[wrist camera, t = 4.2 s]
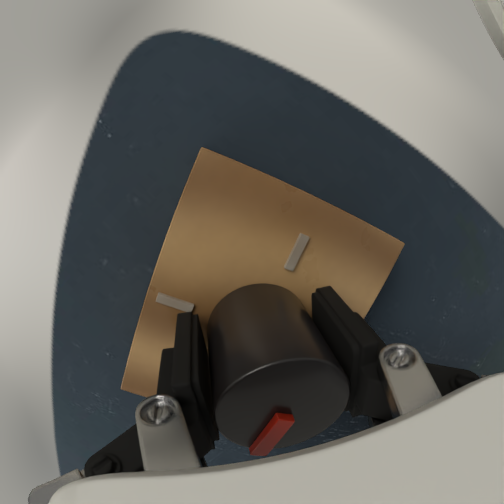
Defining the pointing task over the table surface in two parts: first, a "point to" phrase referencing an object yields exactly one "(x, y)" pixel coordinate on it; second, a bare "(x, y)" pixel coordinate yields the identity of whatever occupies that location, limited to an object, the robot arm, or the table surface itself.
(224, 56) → the table surface
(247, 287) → the dial
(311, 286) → the dial panel
